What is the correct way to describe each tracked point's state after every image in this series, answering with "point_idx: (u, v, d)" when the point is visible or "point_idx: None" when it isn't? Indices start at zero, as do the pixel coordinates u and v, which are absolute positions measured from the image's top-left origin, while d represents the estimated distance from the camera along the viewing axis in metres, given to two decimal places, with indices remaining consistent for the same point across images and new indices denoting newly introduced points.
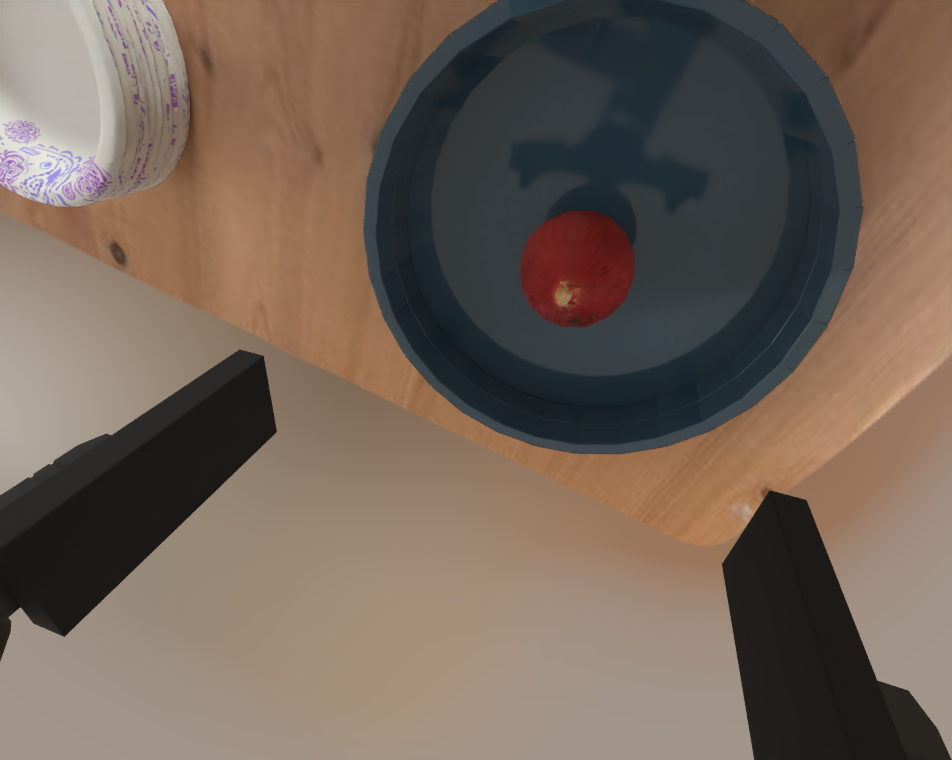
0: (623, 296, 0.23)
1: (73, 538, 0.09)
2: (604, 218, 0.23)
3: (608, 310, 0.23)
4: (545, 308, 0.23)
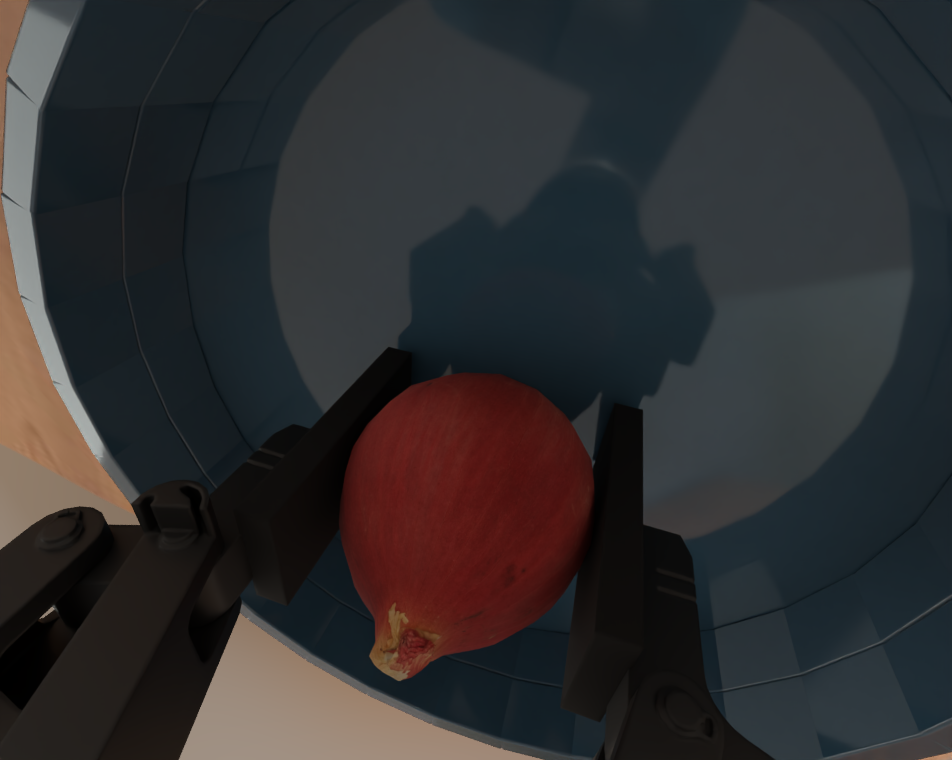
0: (566, 587, 0.10)
1: (302, 515, 0.10)
2: (519, 415, 0.09)
3: None
4: None
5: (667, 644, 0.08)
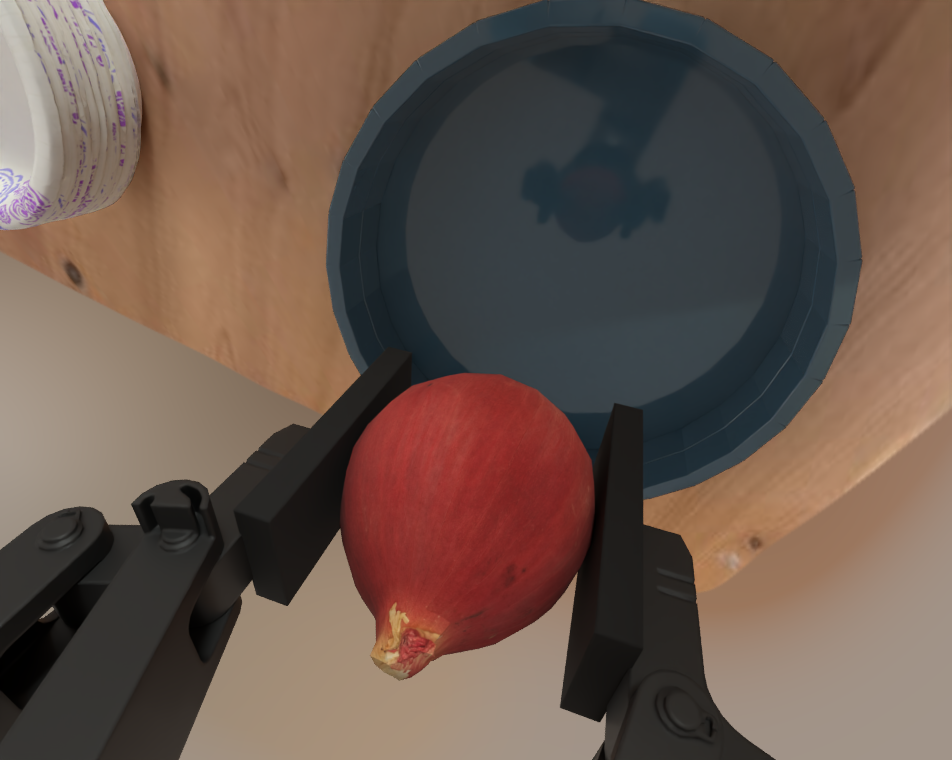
0: (566, 587, 0.10)
1: (303, 516, 0.10)
2: (520, 415, 0.09)
3: None
4: None
5: (667, 644, 0.08)
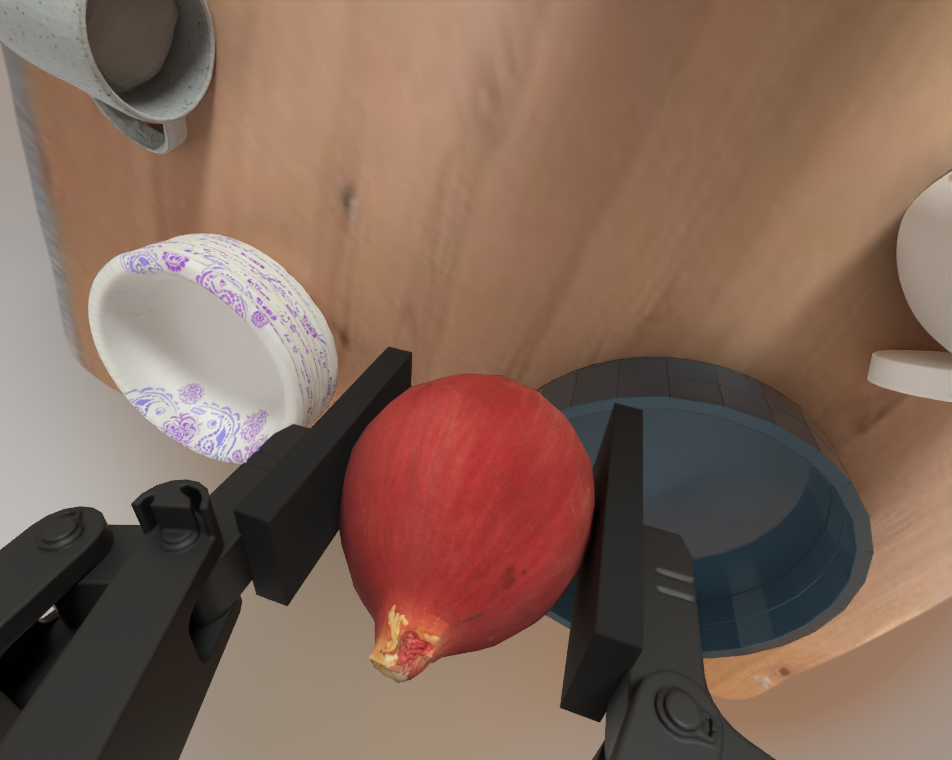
0: (566, 589, 0.10)
1: (303, 515, 0.10)
2: (519, 416, 0.09)
3: None
4: None
5: (667, 644, 0.08)
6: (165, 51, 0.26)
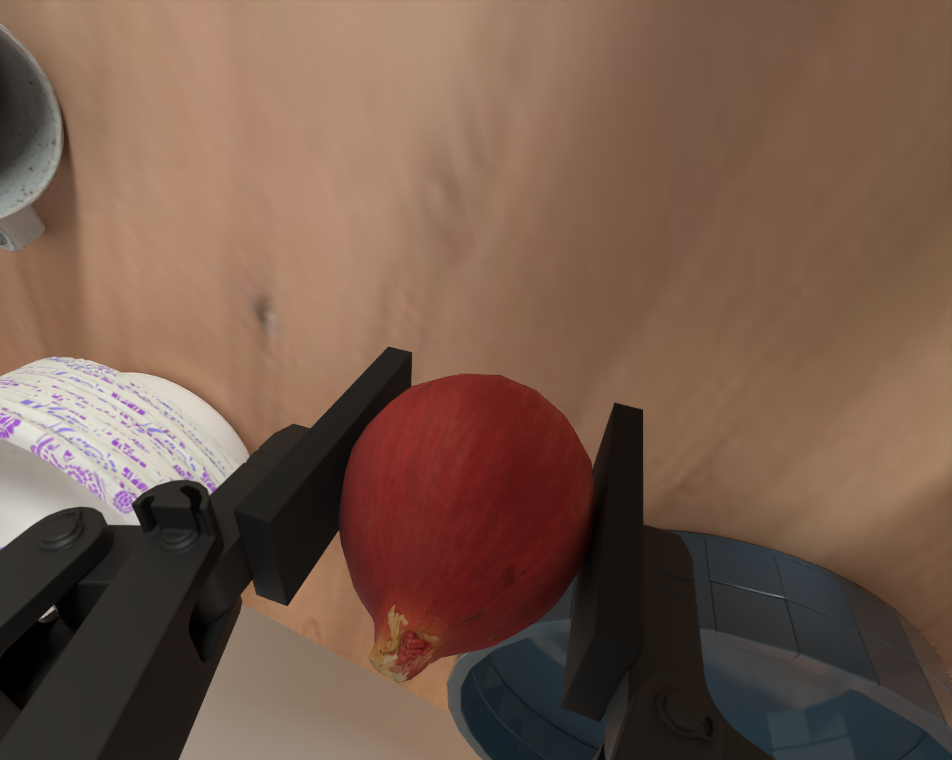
0: (566, 589, 0.10)
1: (303, 515, 0.10)
2: (519, 416, 0.09)
3: None
4: None
5: (667, 644, 0.08)
6: None
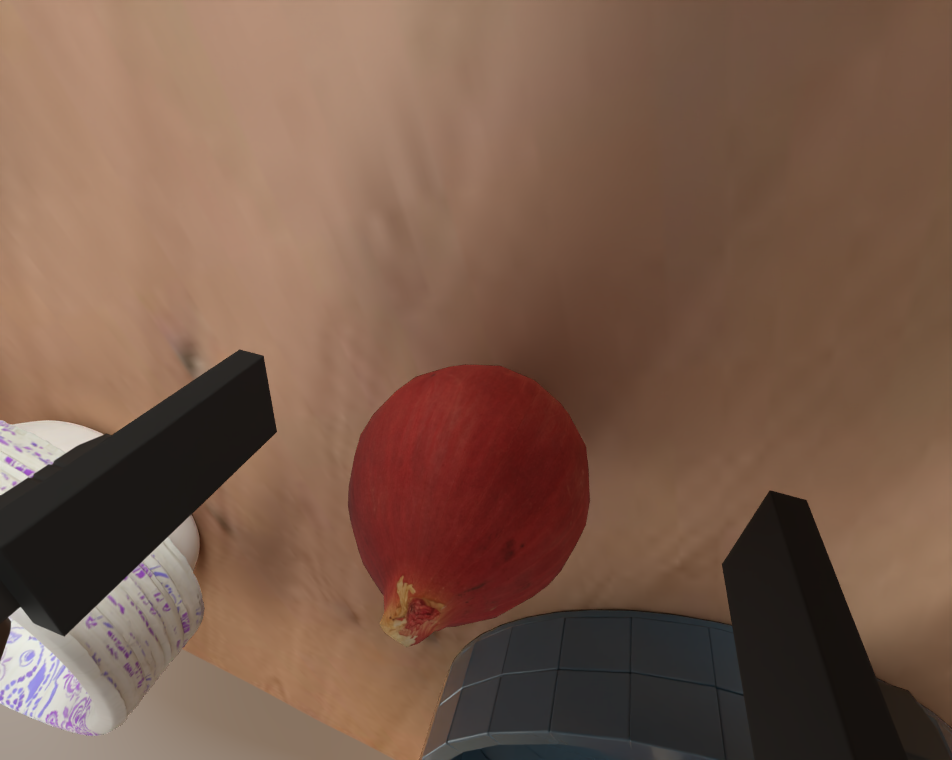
0: (562, 565, 0.11)
1: (73, 538, 0.09)
2: (518, 402, 0.10)
3: None
4: None
5: None
6: None
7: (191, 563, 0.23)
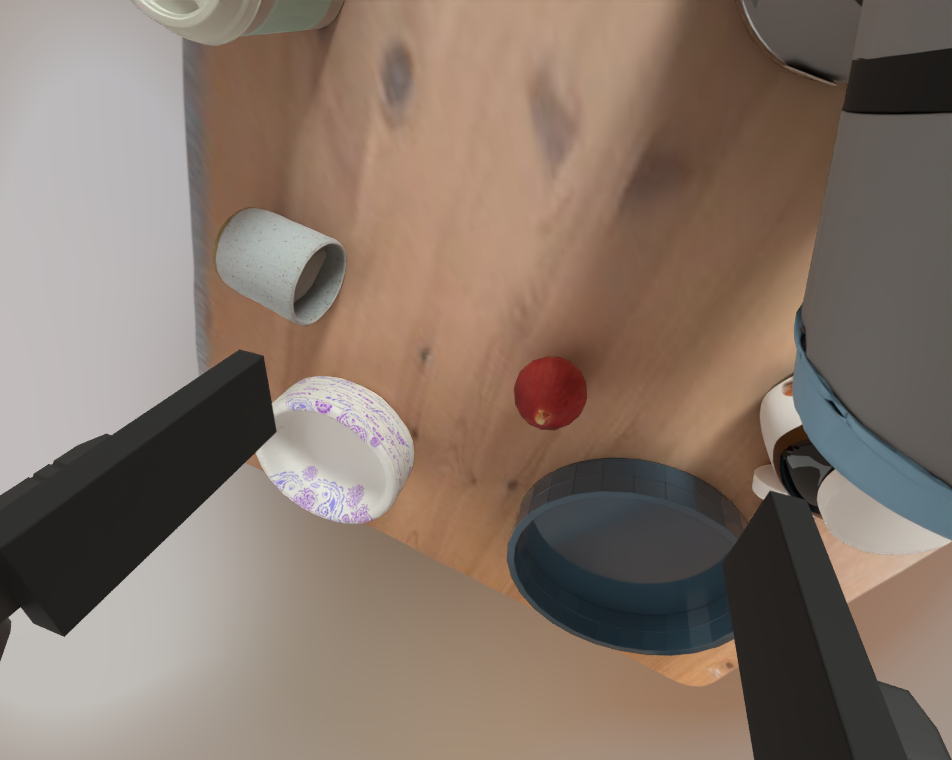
0: (579, 413, 0.37)
1: (73, 537, 0.09)
2: (567, 366, 0.36)
3: (569, 422, 0.37)
4: (529, 421, 0.37)
5: None
6: (316, 276, 0.41)
7: None
